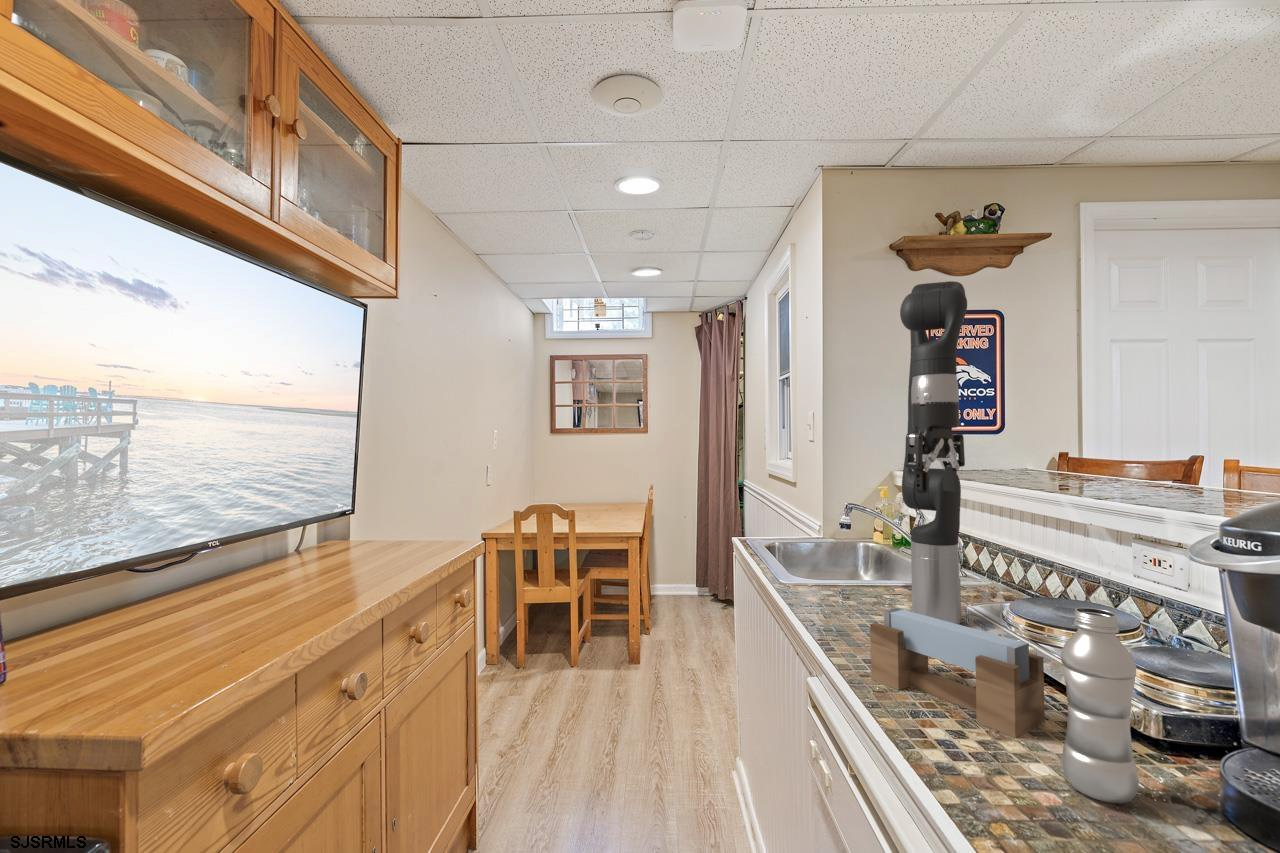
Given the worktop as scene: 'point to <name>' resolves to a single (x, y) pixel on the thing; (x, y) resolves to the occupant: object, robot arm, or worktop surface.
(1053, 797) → the worktop surface
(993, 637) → the rail
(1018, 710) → the wooden notched stand
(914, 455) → the robot arm
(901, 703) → the worktop surface
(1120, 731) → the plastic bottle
